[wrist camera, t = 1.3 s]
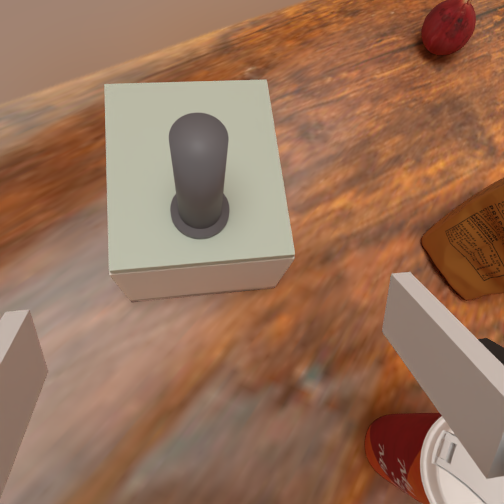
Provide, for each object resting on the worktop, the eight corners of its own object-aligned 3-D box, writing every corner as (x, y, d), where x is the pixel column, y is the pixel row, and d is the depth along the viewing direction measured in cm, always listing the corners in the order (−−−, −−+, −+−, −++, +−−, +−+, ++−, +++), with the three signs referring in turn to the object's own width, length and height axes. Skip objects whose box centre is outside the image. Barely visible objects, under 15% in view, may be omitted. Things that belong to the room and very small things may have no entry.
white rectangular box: (131, 302, 40) (109, 275, 31) (125, 155, 45) (104, 93, 36) (274, 287, 42) (294, 258, 33) (254, 148, 47) (267, 88, 38)
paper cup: (339, 466, 38) (412, 506, 25) (372, 387, 40) (454, 385, 27) (417, 511, 37) (534, 577, 24) (445, 428, 40) (565, 447, 27)
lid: (111, 273, 31) (65, 215, 20) (106, 90, 35) (67, -31, 25) (293, 257, 33) (333, 197, 22) (265, 86, 37) (288, -29, 27)
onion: (449, 75, 54) (490, 23, 46) (406, 60, 54) (440, 6, 46) (456, 42, 56) (496, -13, 48) (415, 27, 56) (448, -30, 48)
